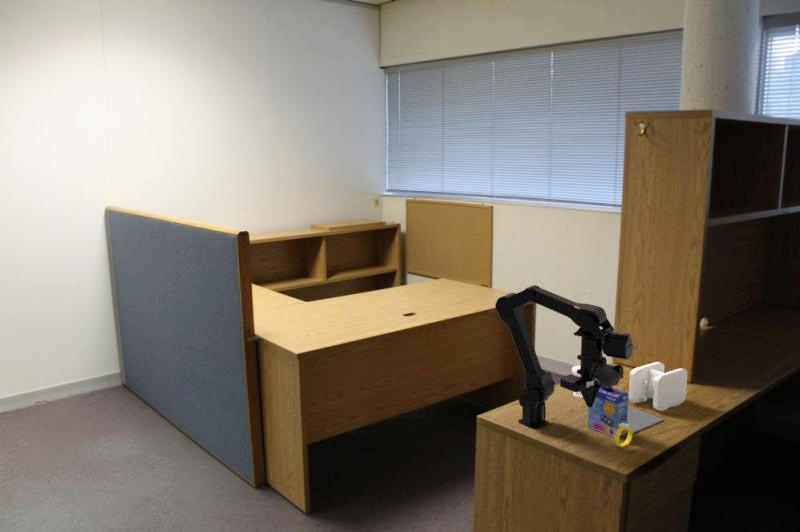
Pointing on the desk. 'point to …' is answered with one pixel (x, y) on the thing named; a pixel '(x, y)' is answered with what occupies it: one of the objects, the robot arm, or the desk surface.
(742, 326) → the desk surface
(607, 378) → the robot arm
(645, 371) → the cable organizer
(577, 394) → the beverage cup
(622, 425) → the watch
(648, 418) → the mat
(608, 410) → the ink cartridge box
